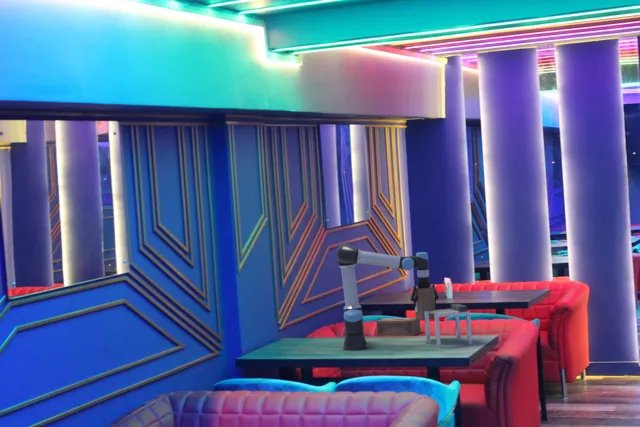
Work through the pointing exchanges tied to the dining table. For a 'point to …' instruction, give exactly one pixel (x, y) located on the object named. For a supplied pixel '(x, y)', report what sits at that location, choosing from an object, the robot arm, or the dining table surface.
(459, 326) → the frame
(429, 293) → the block
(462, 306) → the trapdoor
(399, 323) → the tissue box cover
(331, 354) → the dining table surface
